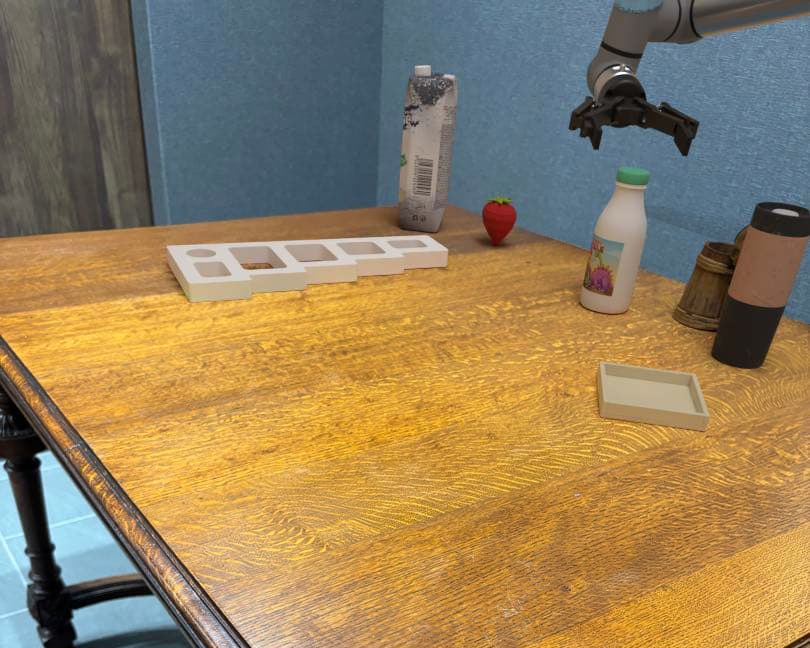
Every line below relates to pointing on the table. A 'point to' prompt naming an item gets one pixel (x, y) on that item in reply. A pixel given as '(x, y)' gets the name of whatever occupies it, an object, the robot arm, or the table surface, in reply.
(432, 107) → the juice carton
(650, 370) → the cream tray
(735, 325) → the travel mug
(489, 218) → the strawberry
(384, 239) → the holder
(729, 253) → the wooden mug
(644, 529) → the table surface
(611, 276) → the milk bottle
